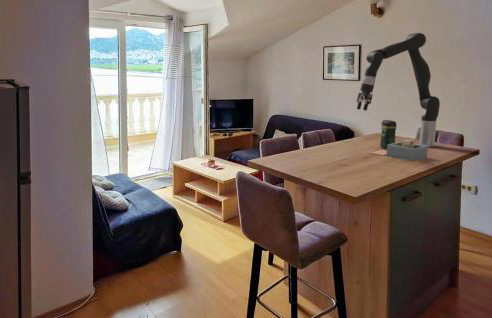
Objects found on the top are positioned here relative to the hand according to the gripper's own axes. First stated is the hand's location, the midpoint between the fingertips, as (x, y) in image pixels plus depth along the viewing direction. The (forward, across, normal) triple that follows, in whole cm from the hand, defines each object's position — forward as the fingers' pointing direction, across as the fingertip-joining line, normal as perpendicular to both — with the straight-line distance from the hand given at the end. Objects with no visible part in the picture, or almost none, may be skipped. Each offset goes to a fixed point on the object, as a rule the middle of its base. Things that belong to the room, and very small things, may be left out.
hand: (361, 109), depth 258 cm
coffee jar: (+21, +5, -28) cm, 35 cm away
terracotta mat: (+24, -8, -16) cm, 30 cm away
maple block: (+19, -21, -24) cm, 38 cm away
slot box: (+22, -21, -25) cm, 39 cm away
